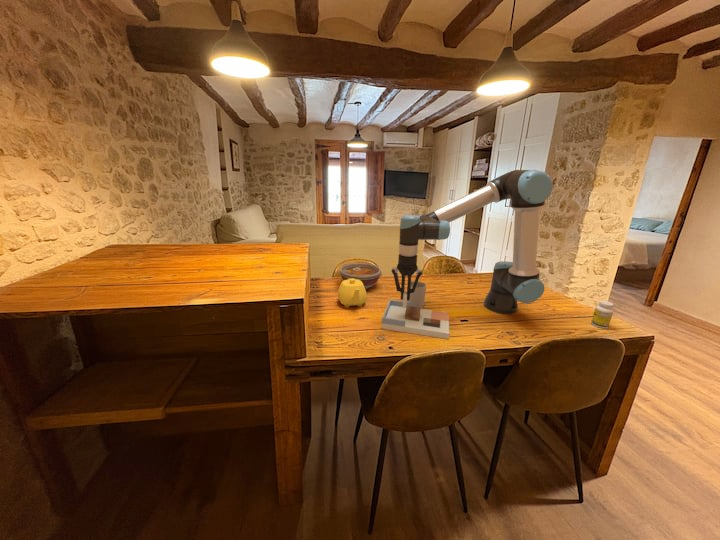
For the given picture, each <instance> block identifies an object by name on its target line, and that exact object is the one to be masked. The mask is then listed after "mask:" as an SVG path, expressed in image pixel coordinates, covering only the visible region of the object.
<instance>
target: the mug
mask: <svg viewBox="0 0 720 540" xmlns="http://www.w3.org/2000/svg"><path fill="white" fill-rule="evenodd" d="M414 282H415V280H414V281H412V280H411V289H412V288H413V285H414ZM426 291H427V284H426V283H425V282H422V281H419V280H418V283H417V285H416V288H415V291H414V293H410V299H409V300H407V302H410V306H411V307H418V308H421V309H424V307H425V302H426V301H425V300H426V299H425V298H426Z"/></svg>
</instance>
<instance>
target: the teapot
mask: <svg viewBox="0 0 720 540" xmlns="http://www.w3.org/2000/svg"><path fill="white" fill-rule="evenodd" d="M366 290H367V289H365V287H364V285H363V283H362V281H360V280H357V279H354V278H351V279H348V280H344V281H343V280H342V281H341V282H340V285H339V287H338V292H337V298H338V300H339V302H340V303H341V305H344V308H346V309H348V308H350V307H351V306H357V307H359V308H361V307H363V305H364V304H365V303H366V302H367V299H368V294H367V291H366Z"/></svg>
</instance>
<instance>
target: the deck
mask: <svg viewBox="0 0 720 540" xmlns="http://www.w3.org/2000/svg"><path fill="white" fill-rule="evenodd" d="M407 306H410V302H407ZM406 308H407V307H406ZM406 308H403V300H396V299H389V301H388V303H387V306H386V308H385V311H384V312H383V315H382V317H381V329H382V330H387V331H388V330H389V331H394V332H400V333H406V334H407V333H408V334H413V335H419V336H427V337H430V338H431V337H432V338H439V339H444V340H449V337H450V313H449V312H447V311H441V310H440V311H439V310H431V309H425V308H421V311H420V318H419V321H413V320H407V319H405V311H406Z"/></svg>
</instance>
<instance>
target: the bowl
mask: <svg viewBox="0 0 720 540" xmlns="http://www.w3.org/2000/svg"><path fill="white" fill-rule="evenodd" d="M381 273H382V270H381V268H380V267H379V266H377V265H375V264H370V263H366V262H351V263H348V264H347V263H346V264H344V265H342V266H341V267H340V268H339V274H340V277H341V279H342V281H344V280H348V279H351V278H354V279H357V280H360V281H362V283H363V285H364V287H365V290H367V289H370V288H371V287H373V286H374V285H375V284H376V283H377V282H378V281H379V279H380V276H381Z"/></svg>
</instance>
